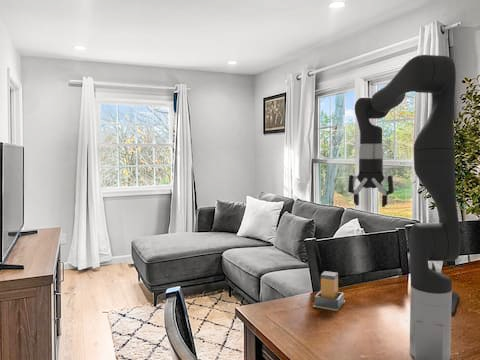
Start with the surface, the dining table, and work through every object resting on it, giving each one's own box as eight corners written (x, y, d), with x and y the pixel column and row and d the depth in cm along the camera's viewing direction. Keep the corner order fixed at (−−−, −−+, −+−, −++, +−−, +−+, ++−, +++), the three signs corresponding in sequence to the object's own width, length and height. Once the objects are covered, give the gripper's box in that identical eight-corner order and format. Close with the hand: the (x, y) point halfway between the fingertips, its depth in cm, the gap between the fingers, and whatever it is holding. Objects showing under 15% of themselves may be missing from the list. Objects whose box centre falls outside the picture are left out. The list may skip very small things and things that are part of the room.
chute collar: (338, 309, 127) (338, 300, 126) (314, 305, 130) (314, 296, 130) (343, 301, 133) (343, 292, 133) (321, 297, 137) (321, 289, 137)
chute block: (334, 306, 129) (334, 276, 128) (320, 304, 131) (320, 274, 130) (337, 302, 133) (338, 272, 132) (324, 300, 135) (324, 271, 134)
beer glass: (421, 287, 150) (422, 248, 149) (422, 282, 156) (423, 244, 155) (442, 290, 147) (442, 250, 146) (442, 285, 153) (443, 246, 152)
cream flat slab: (337, 314, 126) (337, 310, 126) (313, 310, 129) (313, 306, 129) (345, 304, 134) (345, 300, 134) (321, 300, 138) (321, 296, 138)
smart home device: (424, 306, 128) (433, 289, 145) (424, 311, 128) (433, 293, 145) (453, 311, 124) (459, 293, 141) (453, 317, 124) (459, 297, 141)
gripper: (346, 157, 133) (346, 206, 134) (391, 157, 126) (391, 208, 127) (351, 157, 139) (351, 203, 140) (395, 157, 132) (394, 205, 133)
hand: (370, 206), depth 134 cm, fingers open, 8 cm apart
